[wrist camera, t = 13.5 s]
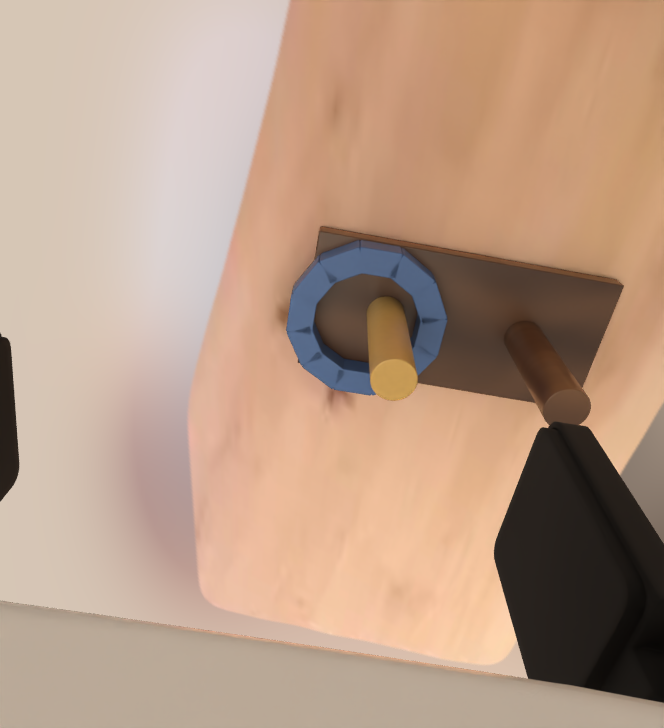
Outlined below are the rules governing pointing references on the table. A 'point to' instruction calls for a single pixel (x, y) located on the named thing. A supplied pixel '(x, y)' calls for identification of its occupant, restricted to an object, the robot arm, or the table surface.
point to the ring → (346, 265)
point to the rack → (474, 327)
